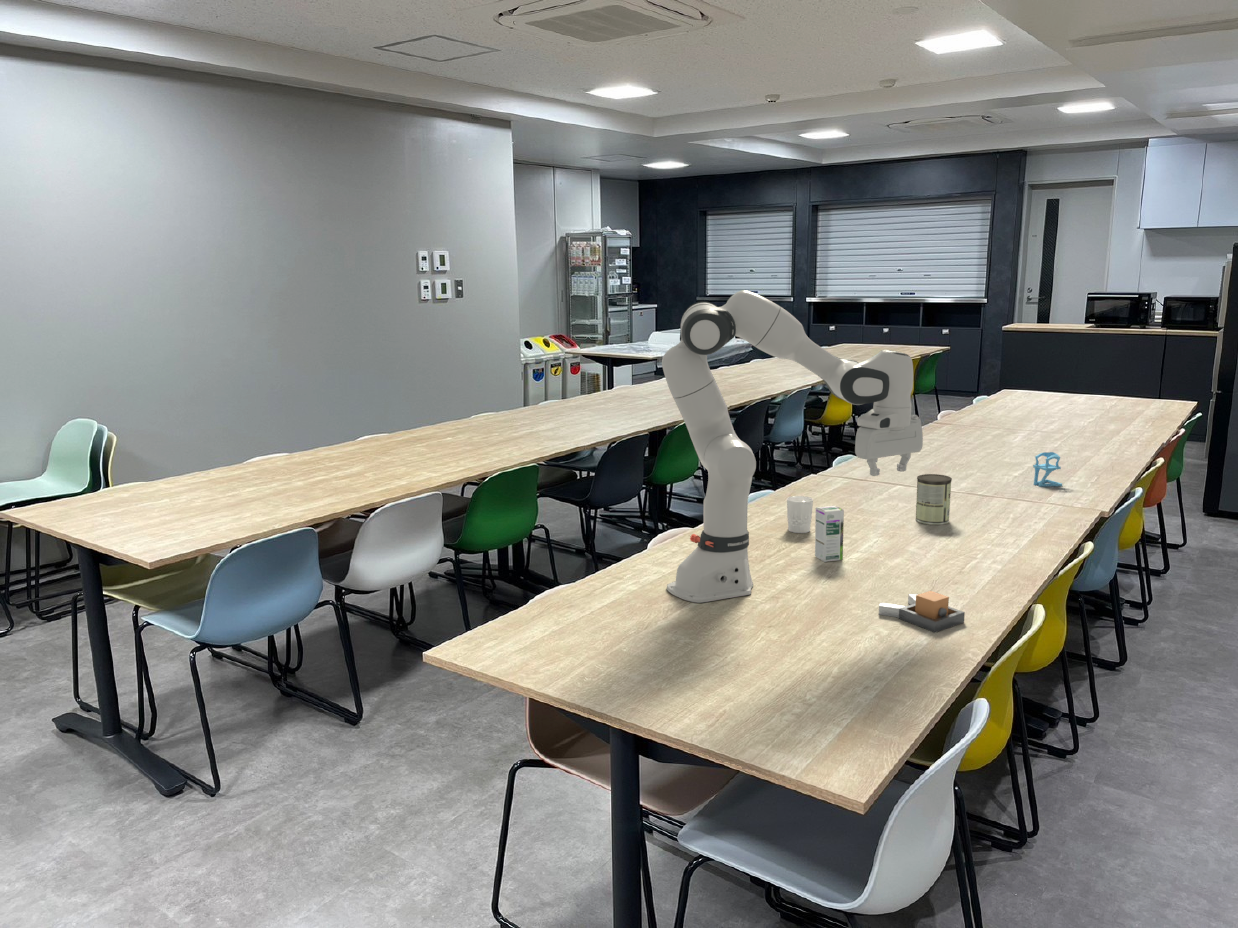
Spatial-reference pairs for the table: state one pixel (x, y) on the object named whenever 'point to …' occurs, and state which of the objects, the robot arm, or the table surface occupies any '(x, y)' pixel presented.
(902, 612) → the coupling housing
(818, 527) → the syrup box
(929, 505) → the coffee can
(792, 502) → the white cup
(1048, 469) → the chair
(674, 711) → the table surface
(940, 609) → the block
